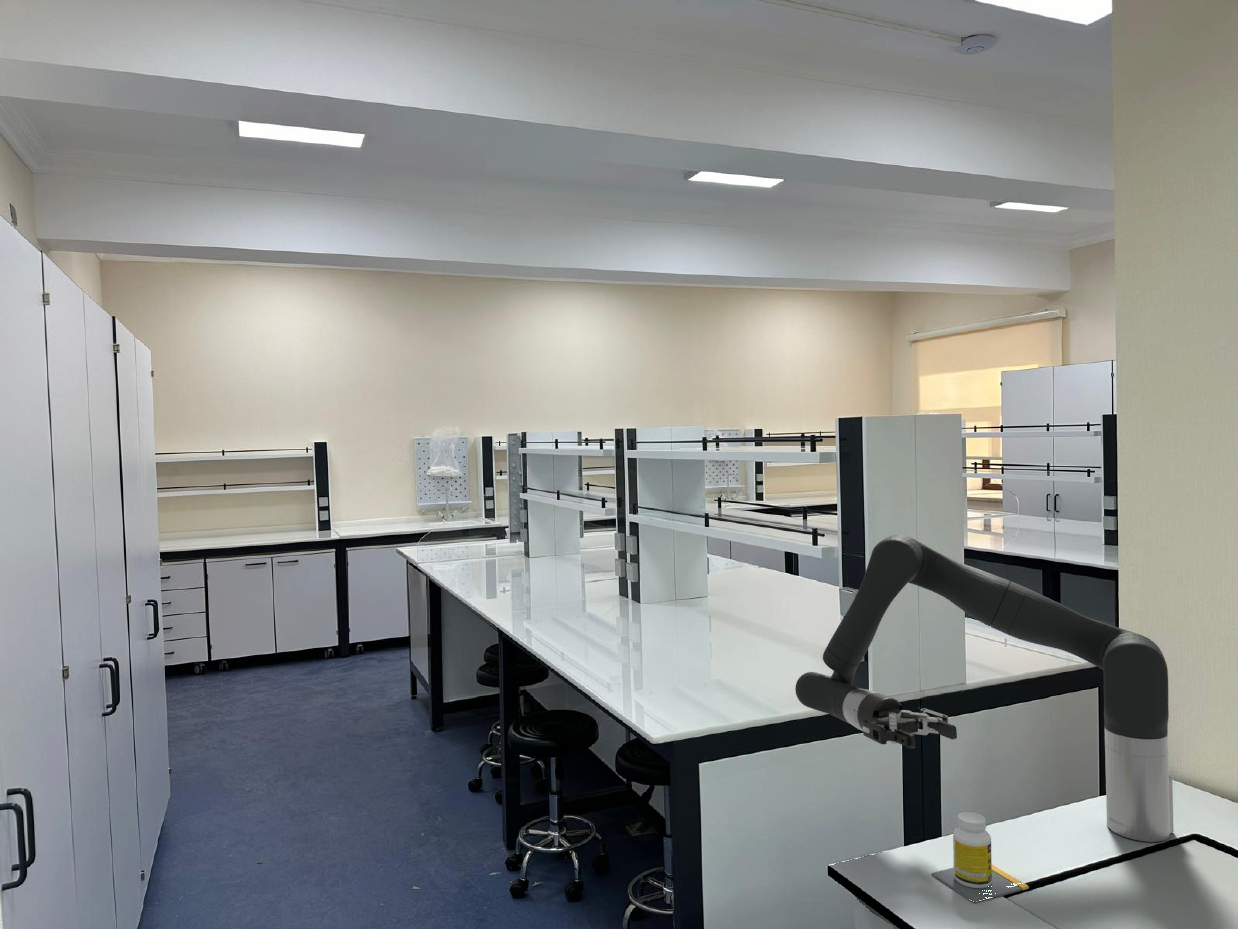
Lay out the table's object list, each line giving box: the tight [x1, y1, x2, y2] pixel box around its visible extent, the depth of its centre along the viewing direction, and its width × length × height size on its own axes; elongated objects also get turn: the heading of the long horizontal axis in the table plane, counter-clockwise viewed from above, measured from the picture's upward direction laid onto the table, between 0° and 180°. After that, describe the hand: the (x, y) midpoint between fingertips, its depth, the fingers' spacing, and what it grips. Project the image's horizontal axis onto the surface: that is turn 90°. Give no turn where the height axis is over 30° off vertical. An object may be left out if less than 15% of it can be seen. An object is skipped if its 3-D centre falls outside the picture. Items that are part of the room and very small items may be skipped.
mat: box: [930, 864, 1030, 902], centre depth 128 cm, size 10×9×1 cm
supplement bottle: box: [952, 811, 993, 888], centre depth 128 cm, size 5×5×10 cm
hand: (934, 737), depth 139 cm, fingers open, 8 cm apart
